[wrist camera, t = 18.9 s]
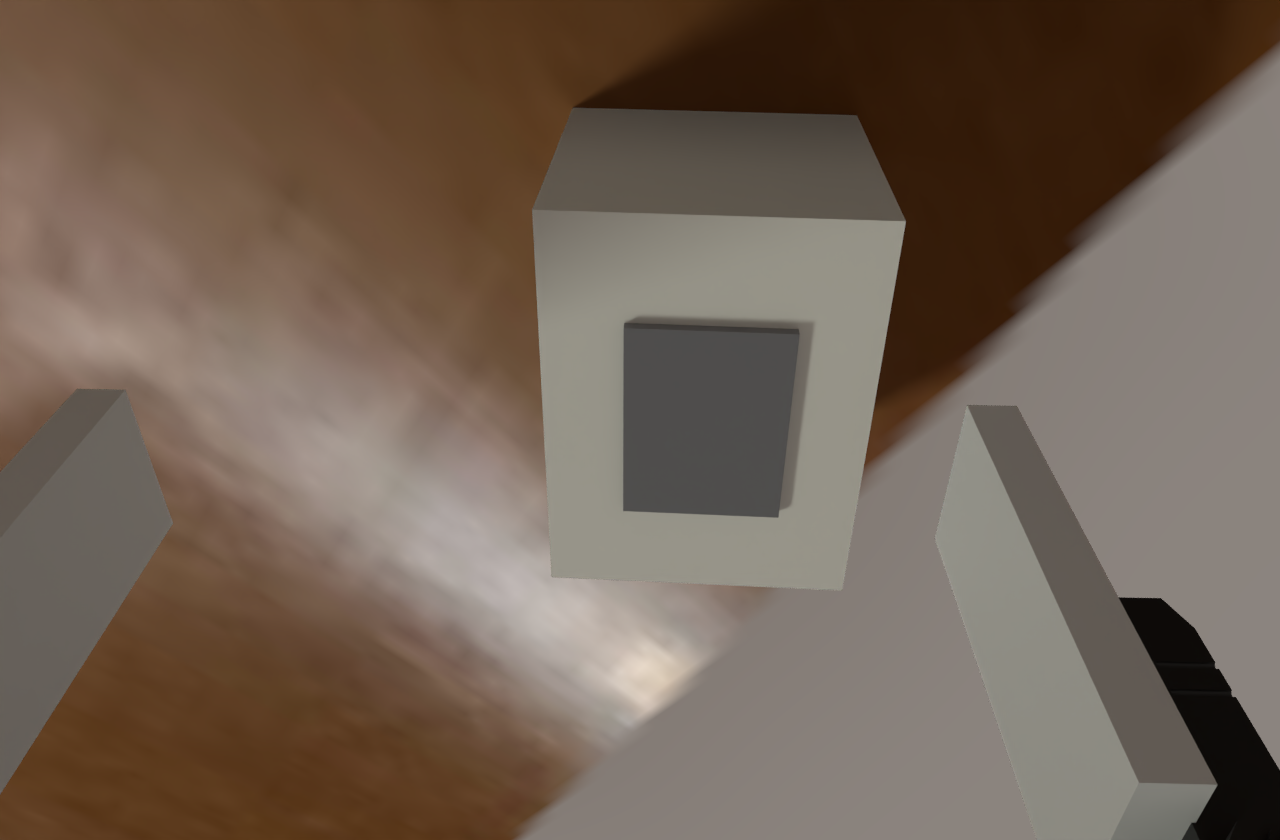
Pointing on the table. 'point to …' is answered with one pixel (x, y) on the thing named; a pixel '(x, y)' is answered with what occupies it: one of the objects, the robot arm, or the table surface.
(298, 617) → the table surface
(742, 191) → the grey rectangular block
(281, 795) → the table surface
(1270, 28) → the table surface
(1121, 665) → the robot arm
